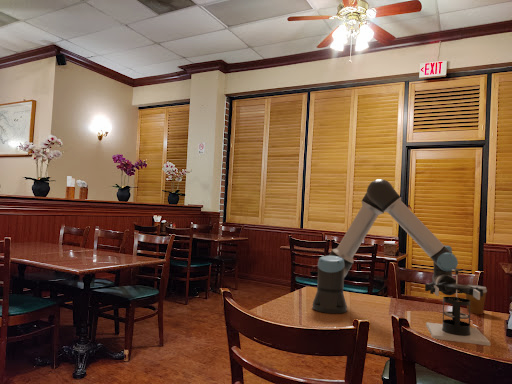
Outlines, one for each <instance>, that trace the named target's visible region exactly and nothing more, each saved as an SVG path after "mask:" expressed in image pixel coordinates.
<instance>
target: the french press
mask: <svg viewBox="0 0 512 384" xmlns="http://www.w3.org/2000/svg"><path fill="white" fill-rule="evenodd" d="M451 270H453V271H452V272H455V275H456V276H455V277H456V278H455V280H456V284H443V285H444V286H445V291H451V290H456V293H455V296H443V297H442V324H443V328H442V330H443V331H444V332H446V333H449V334H453V335H460V336H468V335H470V334H471V333H470V327H471V312H470V300H468V299H466V298H464V297H459V296H458V293H457V290H460V291H464V292H465V293H467V294H468V293H469V289H470V287H469V286H465V285H466V284H465V285H464V284H461V285H460V283H458V284H457V282H458V276H459V272H464V270H462V269H461V268H460V269H459V268H456V269H451ZM465 293H464V294H465ZM445 303H446V304H451V305H452V306H451V307H452V308H451V309H452V310H451V311H450V310H449V311H445ZM467 305H469V312H468V314H467V313H463V312H461V306H467ZM445 316H446V317H449V318H451V319H445ZM466 319H467V320H468V322H466V321H464V320H466ZM462 320H463V321H462Z"/></svg>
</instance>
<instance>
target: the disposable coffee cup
mask: <svg viewBox="0 0 512 384" xmlns="http://www.w3.org/2000/svg"><path fill="white" fill-rule="evenodd" d="M467 285H468V286H471V287H475V288H476V287H478V289H482V290H483V297H480V300H477V299H476V298H475V297H473V295H469V294H465V299H468V300H470V314H477V315H482V314H484V307H485V302H486V296H487V292H488V289H487V287H486V286H482V285H475V284H467ZM466 309H467V312H468V313H469V305H466Z"/></svg>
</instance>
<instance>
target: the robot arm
mask: <svg viewBox="0 0 512 384" xmlns="http://www.w3.org/2000/svg"><path fill="white" fill-rule="evenodd" d="M384 213H388V215H389V216H390V217H391V218H393V220H394V221H395V222H396V224H398V225H399V226H400V227H401V229H402V230H404V231H405V233H407V235H408V236H409V237H410V238H411V239H412V240H413V241H414V242H415V243H416V244H417V245H418V246H419V247H420V249H421V250H423V251H424V253H425V255H427V256H428V257H429V258H430V259H431V260H432V261H433V268H432V269H433V271H432V273H433V274H432V277H431V278H432V281H431V282H430V283H425V284H424V291H425V292H429V291H430V295H435V296H437V297H439V295H440V293H442V294H443V295H445V296H454V295H456V290H451V291H445V286H444V285H443V284H456V278H454V277H453V272H454V271H453V270H451V269H457V267H458V265H459V263H458V262H459V261H458V258H457V257H456V255H455V254H453V250H452V249H453V248H452V246H451V245H444V244H443V243H442V242H441V240H439V239H438V237H437V236H436V235H435V234H434V233H433V232H432V231H431V230H430V229H429V228H428V227H427V226H426V225H425V224H424V223H423V222H422V221H421V220H420V219H419V218H418V216H417V215H416V214H414V213H413V211H411V209H410V208H409V207H408V206H407V205H406V204H405V203H404V202H403V201H402V196H401V195H400V194H398V192H397V191H396V190H395V188H394V187H393V185H392V183H390V182H389V180H386V179H383V178H382V179H381V178H380V179H379V178H378V179H374V180H373V181H371V182H370V183H369V184H368V186H367V188H366V192H365V194H364V196H363V197H362V199H361V207H360V209H359V211H358V212H357V214H356V215H355V218H353V220H352V222H351V224H350V226H349V227H348V229H347V231H346V232H345V234H344V236H343V238H342V239H341V240H340V242H339V244H338V245H337V247H336V248H332V250H331V252H329V254H328V255H325V256H324V255H323V256H321V257H320V256H319V258H318V260H317V261H318V262H317V282H316V283H317V285H316V286H317V288H316V293H315V296H314V299H313V301H312V310H314V311H316V312H319V313H325V314H335V315H336V314H344V313H346V312H347V311H348V306H347V301H346V298H345V295H344V285H345V283H344V282H345V278H346V277H347V275H348V274H349V271H350V269H351V268H352V266H353V264H354V262H355V261H354V256H355V255H356V253H357V251H358V250H359V248H360V246H361V245H362V243H363V242H364V239H365V238H366V236H367V235H368V233H369V231H370V230H371V228H372V227H373V225H374V224H375V221H376V220H377V218H379V217H378V216H379V215H383V214H384ZM457 284H460V283H458V281H457ZM460 285H462V284H460ZM468 285H469V284H465V286H468ZM469 287H470V289H469V293H468V294H469V295H473V297H475V298H476V299H477V300H480V297H483V290H482V289H478V287H476V288H475V287H471V286H469ZM457 294H465V295H466V294H467V293H465V292H464V291H460V290H457Z"/></svg>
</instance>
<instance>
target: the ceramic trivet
mask: <svg viewBox="0 0 512 384" xmlns="http://www.w3.org/2000/svg"><path fill="white" fill-rule="evenodd" d="M425 326H426V328H427V330H428V332H429V334H430V335H431V338H432V339H433V338H435V340H440V341H449V342H458V343H465V344H473V345H474V344H475V345H480V346H490V347H491V342H490V340H489V339H488V338H487V337H486V336H485V335H484V334H483V333H482V332H481V331H480V330H479V329H478V328H477V327H471V326H470V333H471V334H470V335H468V336H460V335H453V334H449V333H446V332H444V331H443V330H442V328H443V323H435V322H428V321H427V322H425Z"/></svg>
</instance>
